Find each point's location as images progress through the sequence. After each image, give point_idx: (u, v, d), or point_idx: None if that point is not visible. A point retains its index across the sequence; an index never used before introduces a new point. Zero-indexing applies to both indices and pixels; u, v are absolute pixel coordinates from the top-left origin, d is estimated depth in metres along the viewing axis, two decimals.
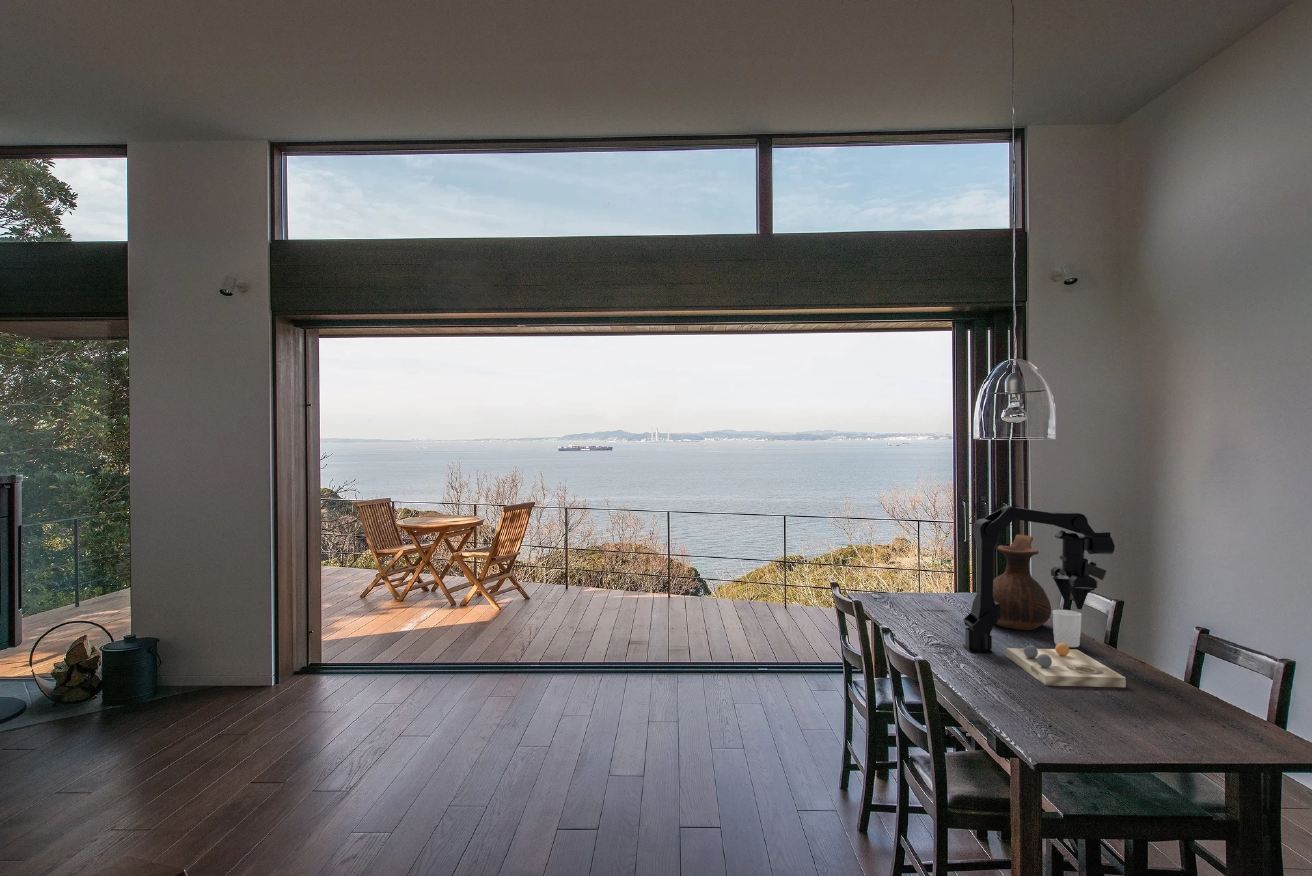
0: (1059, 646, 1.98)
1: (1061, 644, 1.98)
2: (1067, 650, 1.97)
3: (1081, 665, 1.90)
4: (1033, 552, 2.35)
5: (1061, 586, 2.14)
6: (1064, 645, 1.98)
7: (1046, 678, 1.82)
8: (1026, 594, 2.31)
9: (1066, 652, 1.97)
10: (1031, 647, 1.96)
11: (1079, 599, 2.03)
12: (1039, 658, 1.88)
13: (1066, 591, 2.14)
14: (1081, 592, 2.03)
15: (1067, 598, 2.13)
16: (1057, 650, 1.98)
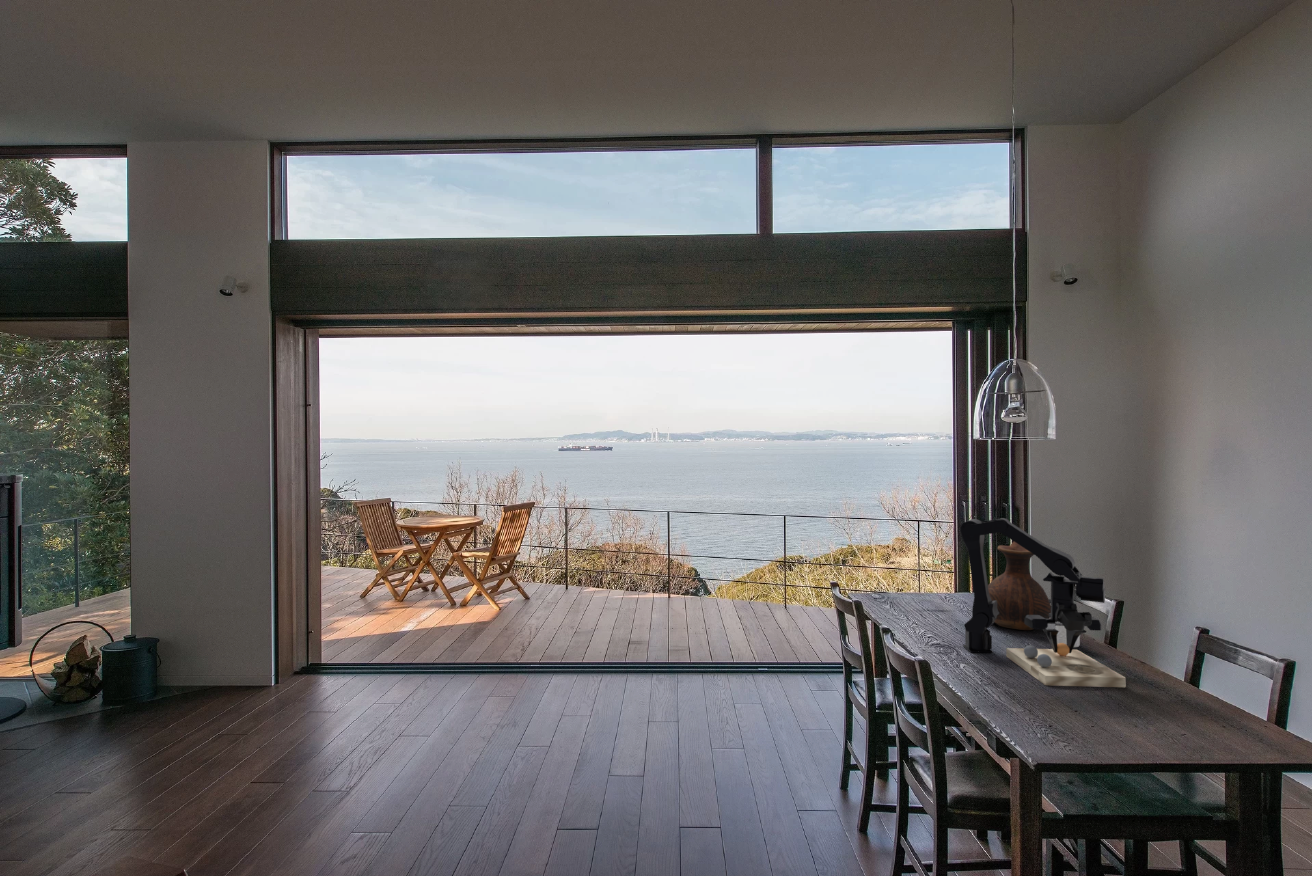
0: (1059, 646, 1.98)
1: (1061, 644, 1.98)
2: (1067, 650, 1.97)
3: (1081, 665, 1.90)
4: None
5: (1067, 634, 2.00)
6: (1064, 645, 1.98)
7: (1046, 678, 1.82)
8: (1026, 594, 2.31)
9: (1066, 652, 1.97)
10: (1031, 647, 1.96)
11: (1050, 640, 1.99)
12: (1039, 658, 1.88)
13: (1070, 641, 1.98)
14: None
15: None
16: (1057, 650, 1.98)
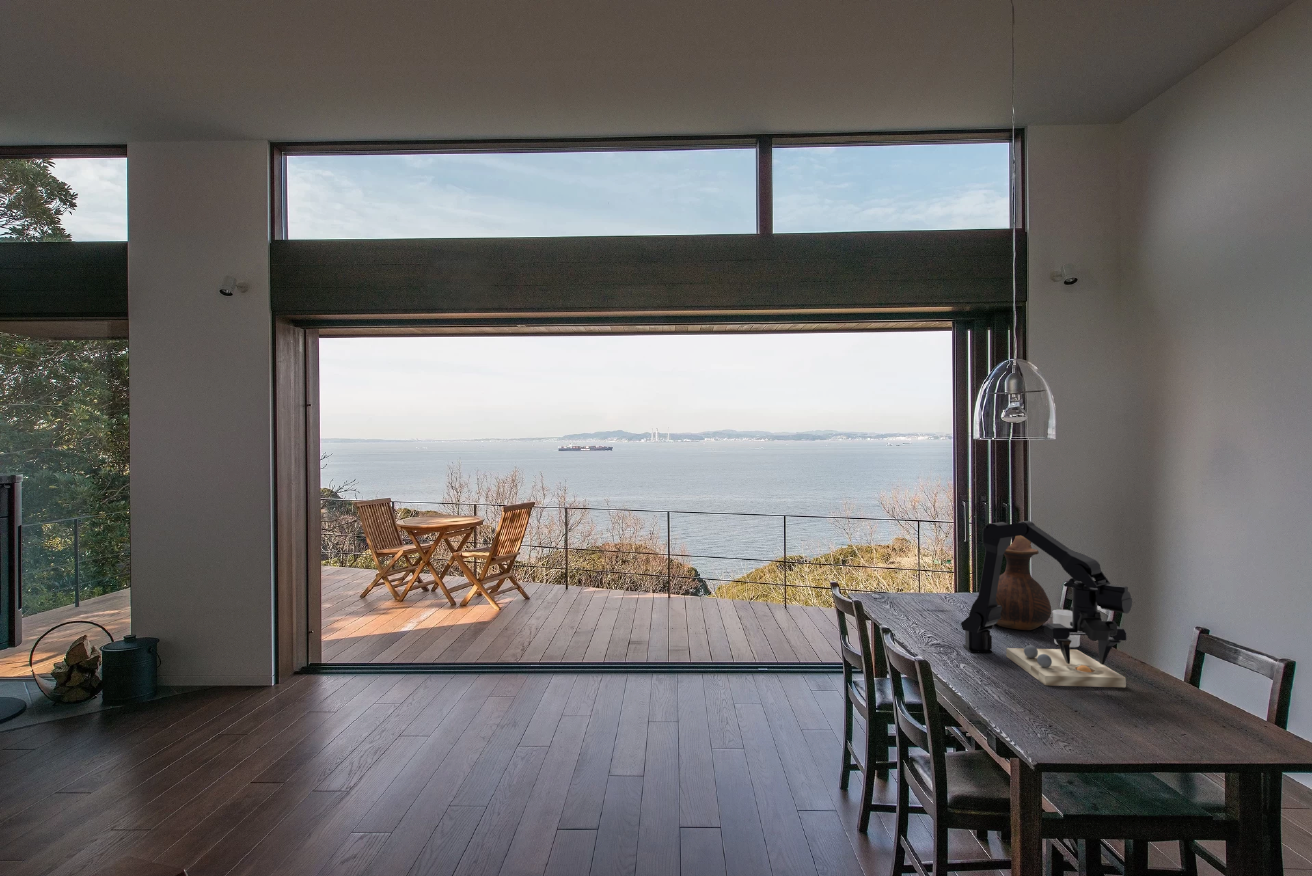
0: (1079, 669, 1.86)
1: (1082, 667, 1.86)
2: None
3: None
4: (1033, 552, 2.35)
5: (1099, 645, 1.88)
6: (1085, 668, 1.86)
7: (1046, 678, 1.82)
8: (1026, 594, 2.31)
9: None
10: (1031, 647, 1.96)
11: (1062, 651, 1.88)
12: (1039, 658, 1.88)
13: (1102, 652, 1.86)
14: None
15: (1101, 659, 1.86)
16: None
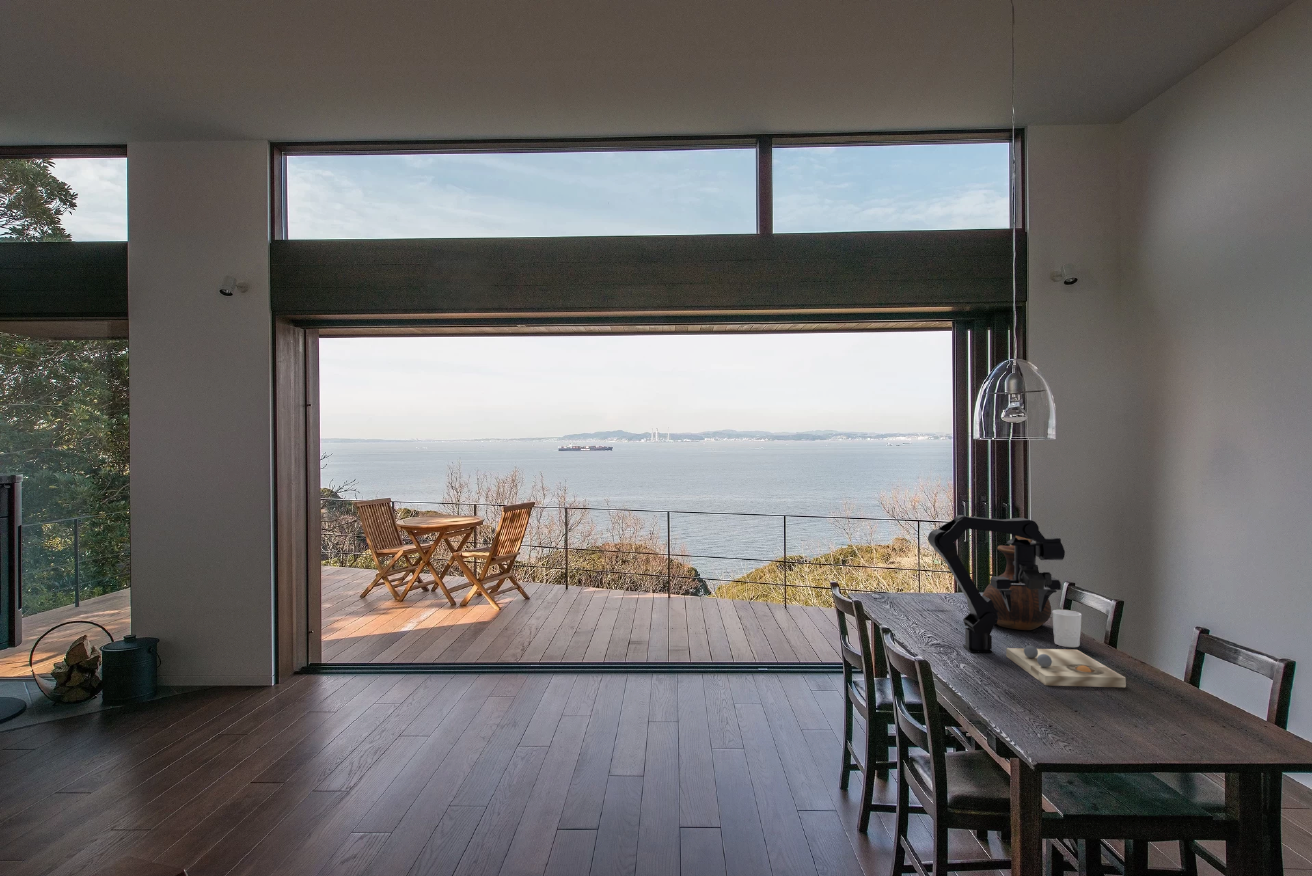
0: (1079, 670, 1.86)
1: (1081, 667, 1.86)
2: None
3: None
4: None
5: (1039, 595, 2.12)
6: (1084, 668, 1.86)
7: (1046, 678, 1.82)
8: (1026, 594, 2.31)
9: None
10: (1031, 647, 1.96)
11: (1005, 600, 2.12)
12: (1039, 658, 1.88)
13: (1041, 601, 2.11)
14: None
15: (1040, 607, 2.11)
16: None
